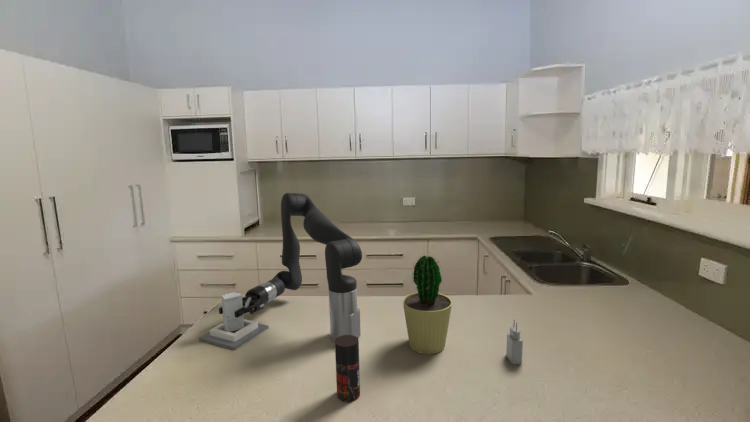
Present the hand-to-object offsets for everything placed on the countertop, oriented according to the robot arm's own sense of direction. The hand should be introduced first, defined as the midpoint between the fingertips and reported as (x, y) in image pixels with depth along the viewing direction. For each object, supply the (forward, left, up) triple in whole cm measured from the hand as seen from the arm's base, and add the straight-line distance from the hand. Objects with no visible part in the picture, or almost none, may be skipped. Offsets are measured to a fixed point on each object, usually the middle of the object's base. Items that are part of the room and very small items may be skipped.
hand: (227, 313), depth 129 cm
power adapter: (-89, -23, -9) cm, 92 cm away
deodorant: (-52, +11, -9) cm, 54 cm away
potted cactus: (-63, -21, -9) cm, 67 cm away
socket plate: (0, -2, -9) cm, 9 cm away
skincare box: (0, -2, -7) cm, 7 cm away
